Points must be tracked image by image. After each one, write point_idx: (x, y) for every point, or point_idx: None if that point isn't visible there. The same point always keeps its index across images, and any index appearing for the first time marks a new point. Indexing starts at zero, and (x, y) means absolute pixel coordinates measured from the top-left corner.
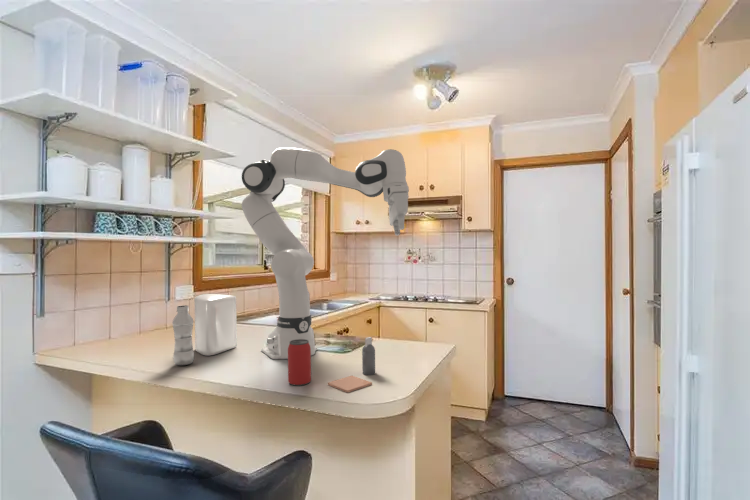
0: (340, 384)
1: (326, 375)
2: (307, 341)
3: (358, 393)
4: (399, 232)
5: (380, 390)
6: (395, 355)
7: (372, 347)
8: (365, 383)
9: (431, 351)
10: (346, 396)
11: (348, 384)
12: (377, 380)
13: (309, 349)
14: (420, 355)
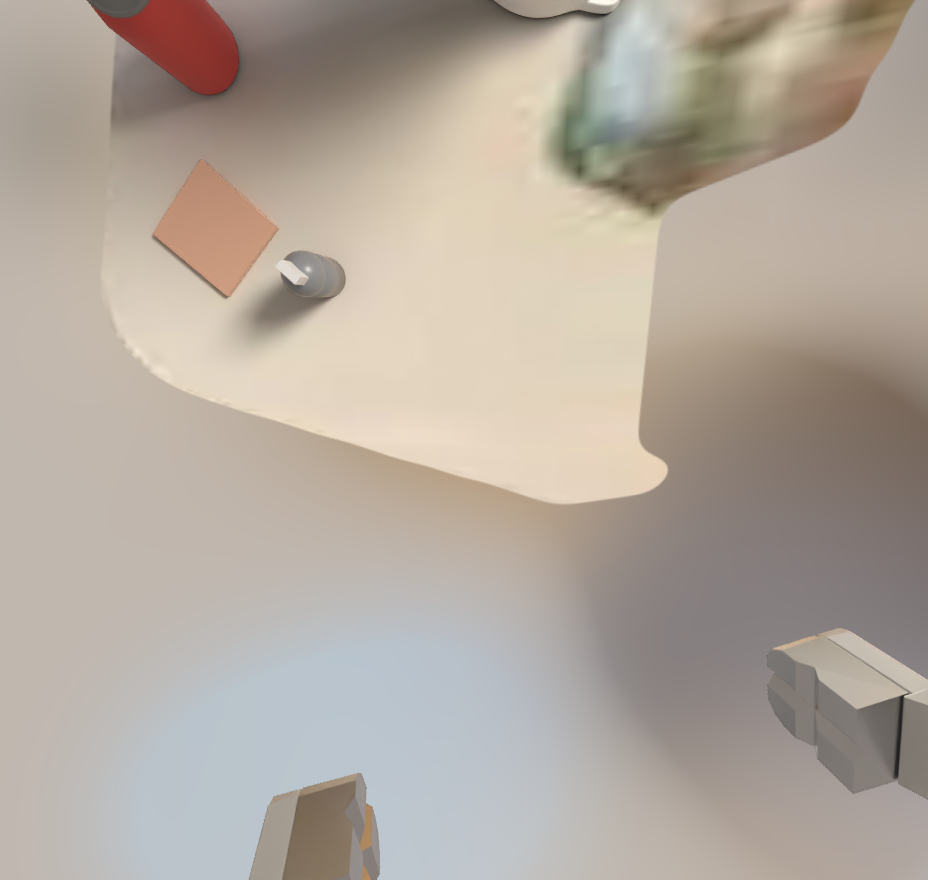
0: (193, 204)
1: (286, 137)
2: (136, 8)
3: (159, 265)
4: (807, 732)
5: (193, 322)
6: (518, 350)
7: (291, 289)
8: (215, 278)
9: (562, 462)
10: (131, 235)
11: (198, 229)
12: (266, 308)
13: (133, 40)
14: (517, 428)
